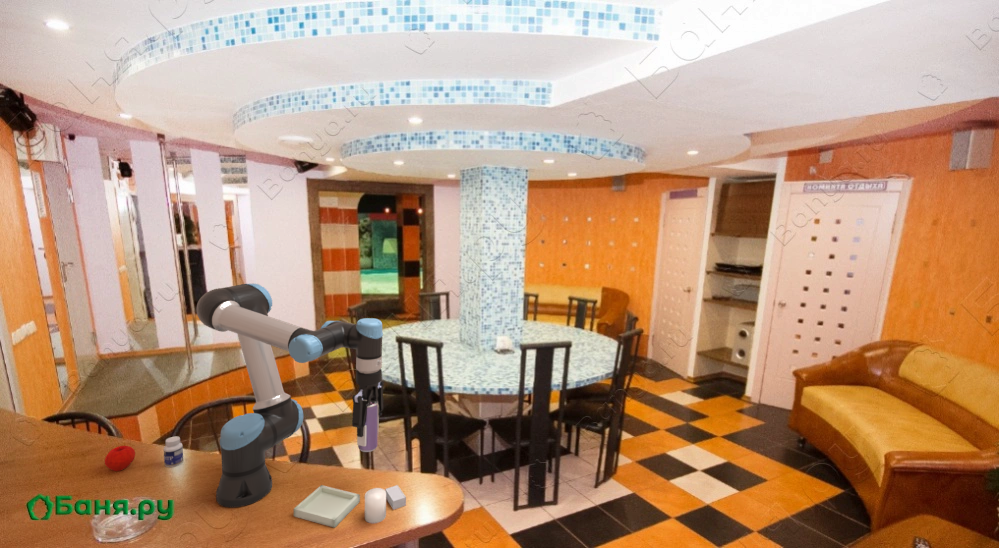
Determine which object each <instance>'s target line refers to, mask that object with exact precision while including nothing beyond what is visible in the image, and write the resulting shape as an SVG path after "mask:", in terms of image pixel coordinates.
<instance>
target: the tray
mask: <svg viewBox="0 0 999 548" xmlns="http://www.w3.org/2000/svg"><path fill="white" fill-rule="evenodd" d="M360 502H361V494H359V493H356V492H352V491H351V492H350V491H347V490H342V489H339V488H336V487H335V488H334V487H332V486H326V485H323V484H321V485H320V486H319V487H317V488H316V489H315V490H314V491H312V493H311V492H310V494H309V495H308V496H306V497H305V499H303V500H302V501H301V502H300V503H298V504H297V505H296V506H295V507H294V508H293V517H295V518H299V519H302V520H305V521H310V522H313V523H316V524H320V525H324V526H325V527H326V526H327V527H331V528H334V529H335V528H337V526H338V525H339V524H340V523H341V522H342V521H343V520H344V519H345V518H346V517H347V516H348V515H349V513H351V512H352V511H353V509H354V508H356V507H357V506H358V504H359V503H360Z"/></svg>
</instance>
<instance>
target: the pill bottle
mask: <svg viewBox="0 0 999 548" xmlns="http://www.w3.org/2000/svg"><path fill="white" fill-rule="evenodd" d="M163 460H164V466H165V467H166V468H172V467H173V468H174V467H177V466H180V465H181V464H182V463H183V462H184V446H183V443H182V442H181V438H180V436H178V435H177V436H176V435H175V436H172V437H168V438H166V439H165V446H164V447H163Z"/></svg>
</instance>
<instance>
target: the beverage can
mask: <svg viewBox="0 0 999 548" xmlns="http://www.w3.org/2000/svg"><path fill="white" fill-rule="evenodd" d="M365 401H367V400H365ZM378 407H380V406H379V405H378V401H377V400H376V401H374V400H371V402H370V404H369V405H368V406H367V416H366V421H365V425H367V435H366V446H365V447H364V446H360V445H357V448H358V449H359V451H361V452H363V453H369V452H370V453H371V452H373V451H375V450H376V449H377V447H378V446H379V426H378Z"/></svg>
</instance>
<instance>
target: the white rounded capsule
mask: <svg viewBox="0 0 999 548" xmlns="http://www.w3.org/2000/svg"><path fill="white" fill-rule="evenodd" d="M386 517H387V499H386V491H385V489H384V488H381V487H373V488H371V489H369V490H367V491H366V492H365V494H364V520H365V521H366V522H367V523H369V524H378V523H380V522H383V521H384V520H385V518H386Z"/></svg>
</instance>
